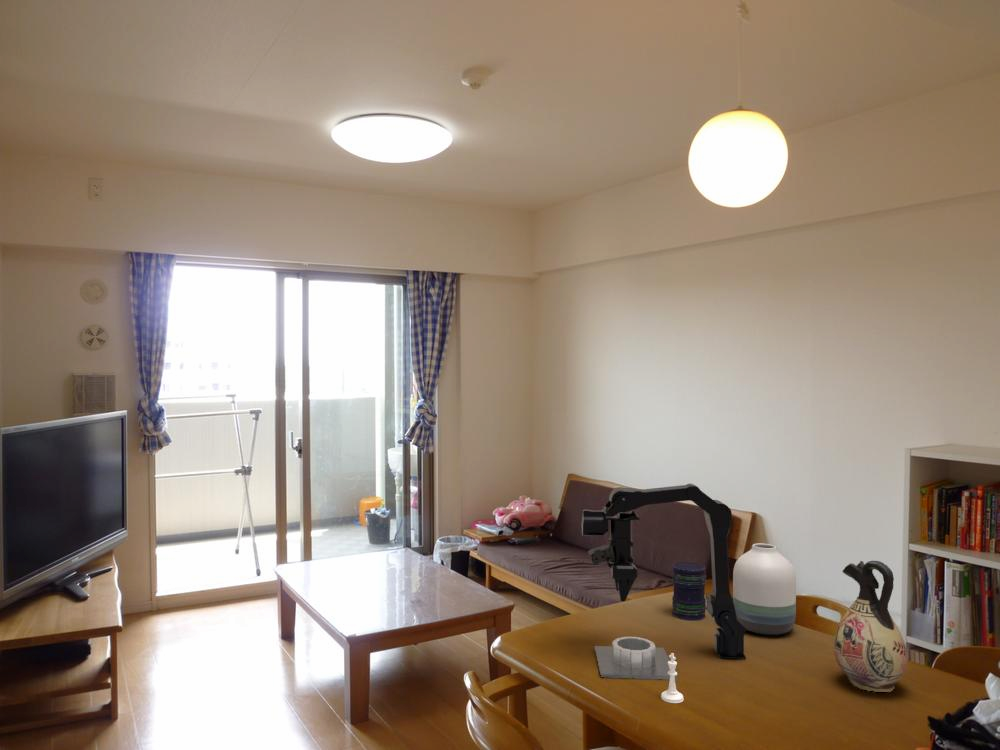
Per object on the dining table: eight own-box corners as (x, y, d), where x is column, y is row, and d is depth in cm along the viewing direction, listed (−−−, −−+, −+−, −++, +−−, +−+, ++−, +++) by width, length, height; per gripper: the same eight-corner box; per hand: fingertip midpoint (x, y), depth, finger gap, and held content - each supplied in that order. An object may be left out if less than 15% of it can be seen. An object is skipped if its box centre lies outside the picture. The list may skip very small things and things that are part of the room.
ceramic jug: (818, 678, 171) (818, 553, 171) (864, 668, 177) (864, 547, 178) (881, 708, 155) (881, 570, 156) (929, 696, 162) (929, 563, 162)
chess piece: (671, 705, 156) (671, 659, 157) (656, 696, 161) (656, 651, 161) (688, 700, 159) (688, 655, 159) (673, 691, 163) (673, 648, 163)
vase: (720, 625, 208) (720, 543, 208) (759, 616, 217) (759, 537, 217) (768, 644, 193) (768, 555, 194) (808, 633, 202) (808, 548, 202)
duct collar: (663, 651, 188) (663, 632, 188) (677, 680, 170) (677, 658, 170) (594, 649, 188) (594, 630, 189) (600, 678, 170) (601, 657, 171)
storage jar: (673, 619, 213) (673, 569, 213) (671, 609, 223) (671, 561, 223) (707, 621, 211) (707, 571, 211) (703, 611, 221) (704, 563, 221)
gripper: (587, 528, 197) (587, 585, 197) (593, 543, 179) (592, 606, 178) (628, 529, 197) (627, 586, 196) (637, 544, 178) (637, 607, 178)
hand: (620, 595), depth 187 cm, fingers open, 9 cm apart
